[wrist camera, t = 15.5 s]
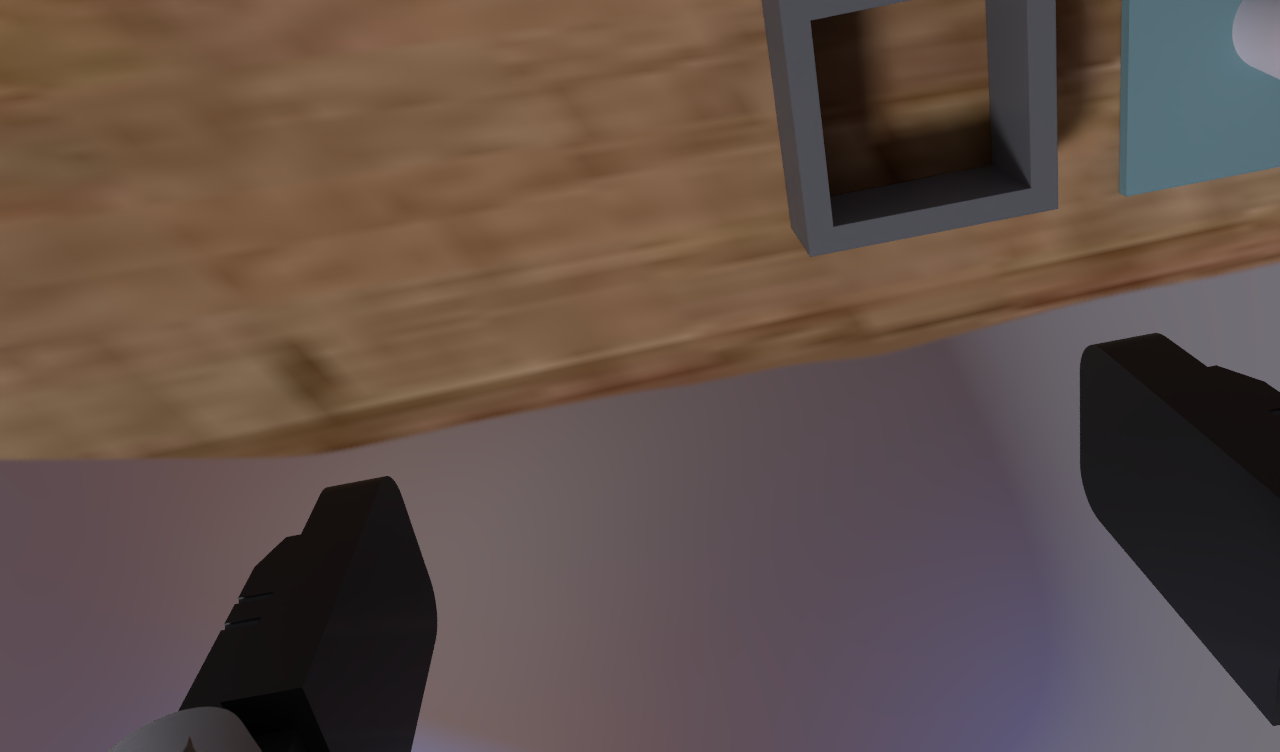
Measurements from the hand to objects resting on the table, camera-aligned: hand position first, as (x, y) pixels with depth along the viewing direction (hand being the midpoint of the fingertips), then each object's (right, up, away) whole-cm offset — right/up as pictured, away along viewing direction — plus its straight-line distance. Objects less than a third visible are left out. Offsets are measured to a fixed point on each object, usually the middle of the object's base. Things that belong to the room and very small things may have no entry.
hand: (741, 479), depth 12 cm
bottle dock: (+9, +13, +28) cm, 32 cm away
